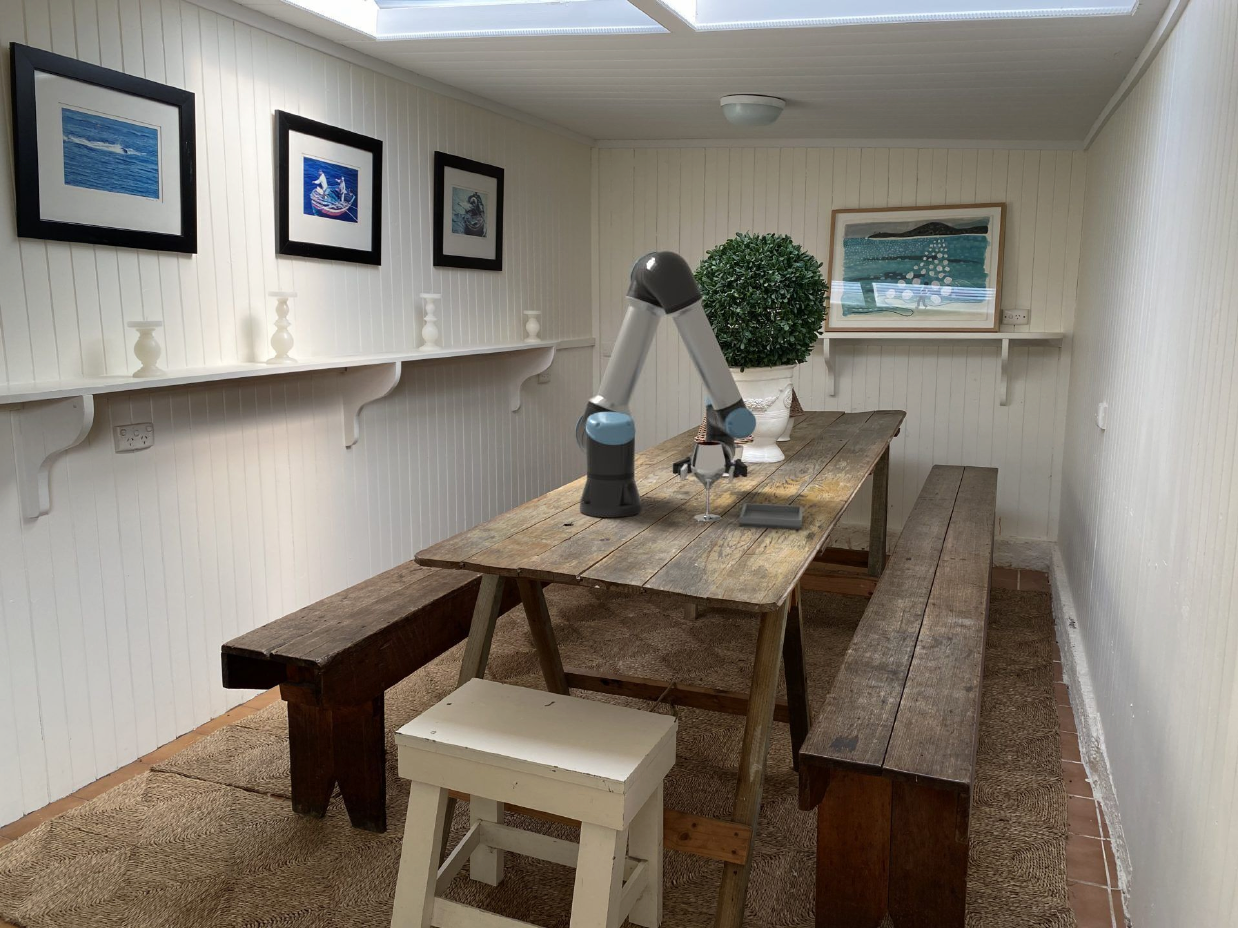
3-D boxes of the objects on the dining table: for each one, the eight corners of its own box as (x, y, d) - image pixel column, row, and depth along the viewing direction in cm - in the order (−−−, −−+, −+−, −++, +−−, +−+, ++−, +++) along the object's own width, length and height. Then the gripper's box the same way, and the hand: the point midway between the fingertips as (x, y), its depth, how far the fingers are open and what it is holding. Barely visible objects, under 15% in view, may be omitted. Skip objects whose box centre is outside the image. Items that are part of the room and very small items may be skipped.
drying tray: (739, 526, 218) (739, 517, 217) (743, 512, 231) (744, 503, 231) (801, 529, 215) (801, 520, 215) (802, 514, 229) (802, 505, 228)
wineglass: (722, 523, 220) (724, 447, 217) (687, 521, 222) (688, 445, 219) (726, 515, 228) (727, 441, 225) (692, 513, 230) (693, 439, 226)
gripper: (761, 475, 239) (755, 494, 218) (670, 471, 243) (656, 490, 222) (762, 445, 237) (756, 462, 216) (671, 442, 242) (657, 458, 221)
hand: (706, 476), depth 219 cm, fingers open, 10 cm apart
